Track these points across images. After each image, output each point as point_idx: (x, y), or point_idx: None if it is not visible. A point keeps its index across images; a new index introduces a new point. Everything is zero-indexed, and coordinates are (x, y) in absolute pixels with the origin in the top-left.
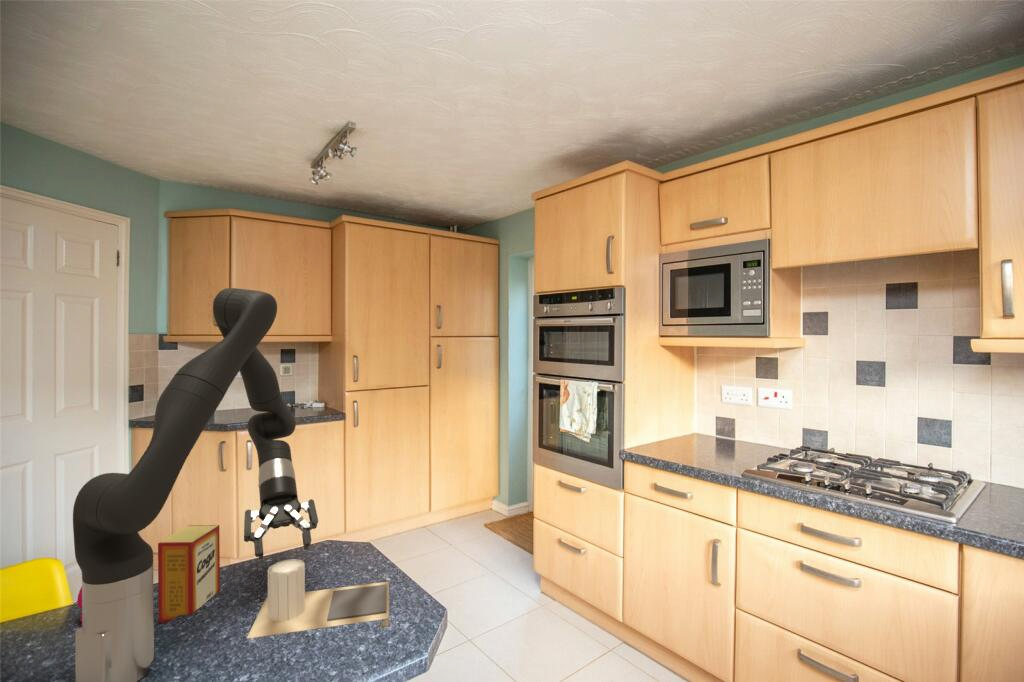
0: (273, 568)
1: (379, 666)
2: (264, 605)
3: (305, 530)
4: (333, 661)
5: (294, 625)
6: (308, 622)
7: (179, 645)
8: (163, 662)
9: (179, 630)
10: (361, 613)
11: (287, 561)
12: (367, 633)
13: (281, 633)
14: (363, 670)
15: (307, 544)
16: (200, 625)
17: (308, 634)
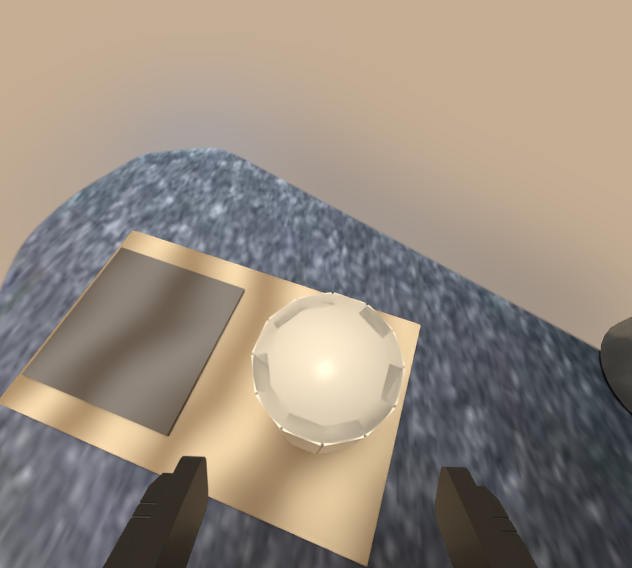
0: (380, 375)
1: (217, 160)
2: (377, 490)
3: (141, 556)
4: (272, 203)
5: None
6: None
7: (576, 437)
8: (584, 375)
9: (611, 539)
10: (169, 268)
11: (314, 417)
12: (187, 241)
13: None
14: (241, 164)
15: (189, 456)
16: (554, 532)
17: None
